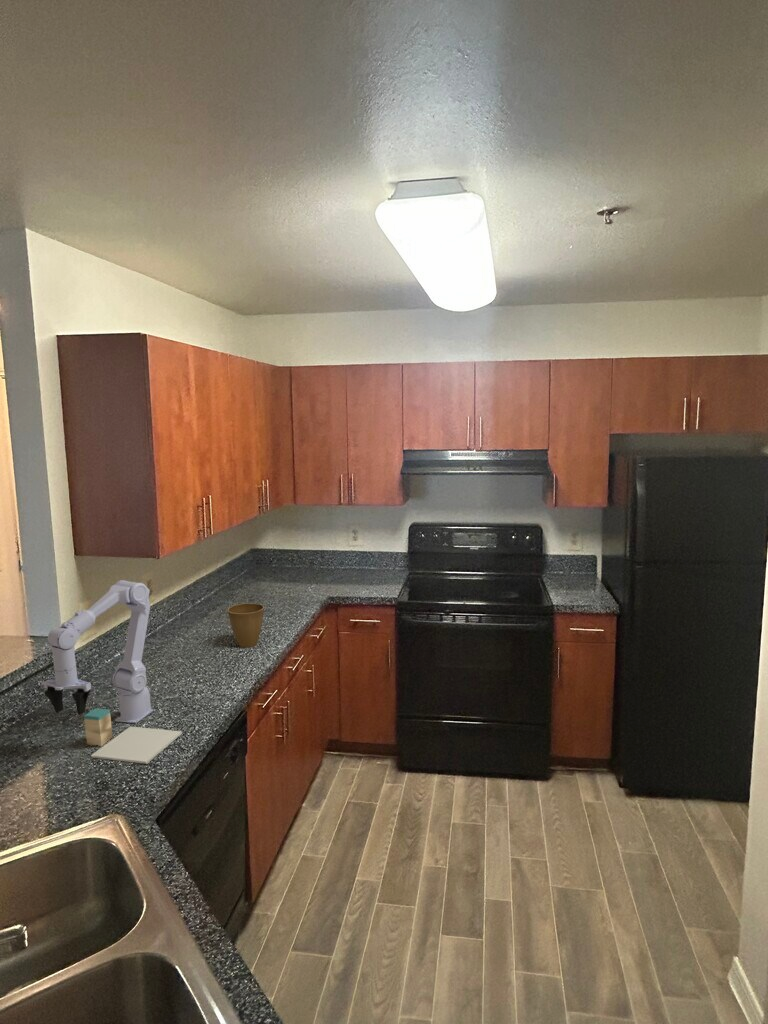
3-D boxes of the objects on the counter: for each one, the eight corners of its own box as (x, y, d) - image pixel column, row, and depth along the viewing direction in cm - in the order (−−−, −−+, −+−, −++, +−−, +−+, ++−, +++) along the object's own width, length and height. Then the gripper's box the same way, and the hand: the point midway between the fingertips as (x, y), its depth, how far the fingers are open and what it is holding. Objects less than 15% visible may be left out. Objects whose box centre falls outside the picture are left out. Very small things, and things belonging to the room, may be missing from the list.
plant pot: (223, 650, 271) (221, 612, 269) (240, 638, 285) (237, 602, 283) (257, 651, 268) (254, 613, 265) (271, 639, 282) (269, 603, 280)
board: (130, 728, 203) (130, 726, 203) (182, 733, 199) (181, 731, 199) (90, 757, 186) (90, 755, 186) (146, 763, 181) (146, 761, 181)
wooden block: (98, 736, 199) (95, 708, 197) (112, 738, 197) (109, 709, 196) (87, 744, 194) (84, 715, 193) (101, 746, 193) (98, 717, 191)
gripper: (34, 671, 188) (39, 716, 190) (77, 674, 185) (82, 720, 187) (51, 662, 195) (56, 706, 197) (93, 665, 192) (98, 709, 194)
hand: (70, 712), depth 192 cm, fingers open, 7 cm apart
